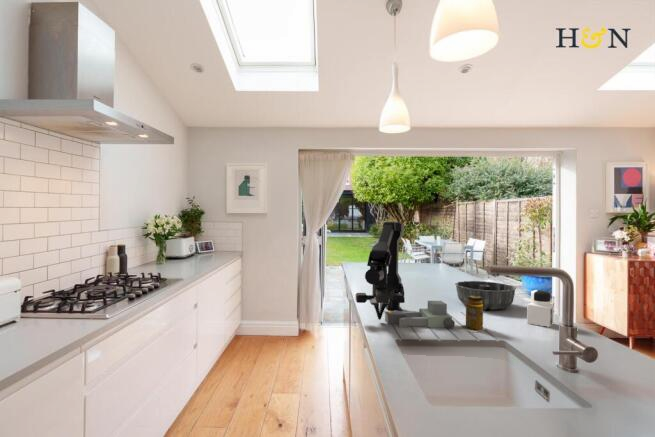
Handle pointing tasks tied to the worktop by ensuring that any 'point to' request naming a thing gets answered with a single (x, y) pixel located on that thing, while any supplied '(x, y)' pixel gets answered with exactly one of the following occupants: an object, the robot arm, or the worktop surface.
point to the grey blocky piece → (429, 316)
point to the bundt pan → (487, 293)
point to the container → (540, 309)
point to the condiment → (474, 314)
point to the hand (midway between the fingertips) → (379, 319)
